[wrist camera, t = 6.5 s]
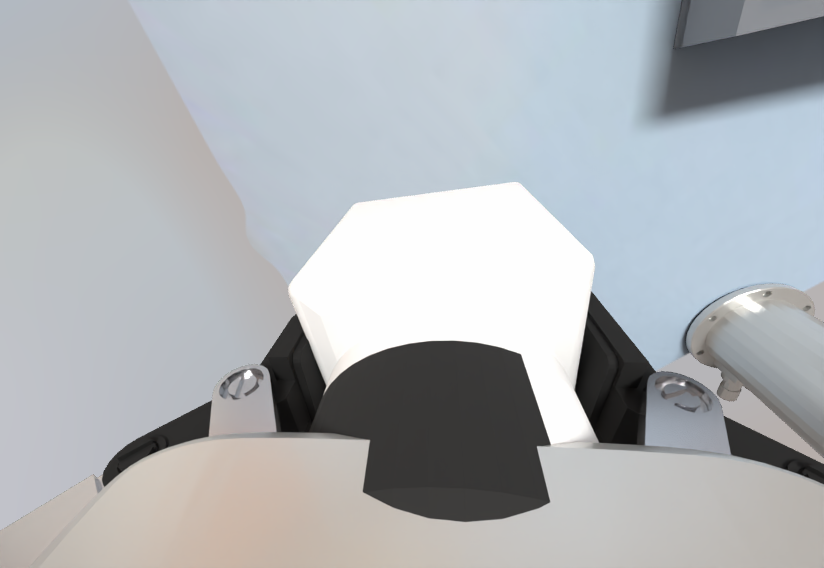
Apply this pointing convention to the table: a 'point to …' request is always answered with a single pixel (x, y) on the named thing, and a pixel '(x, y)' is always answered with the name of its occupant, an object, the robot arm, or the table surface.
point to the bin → (738, 17)
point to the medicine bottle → (450, 346)
